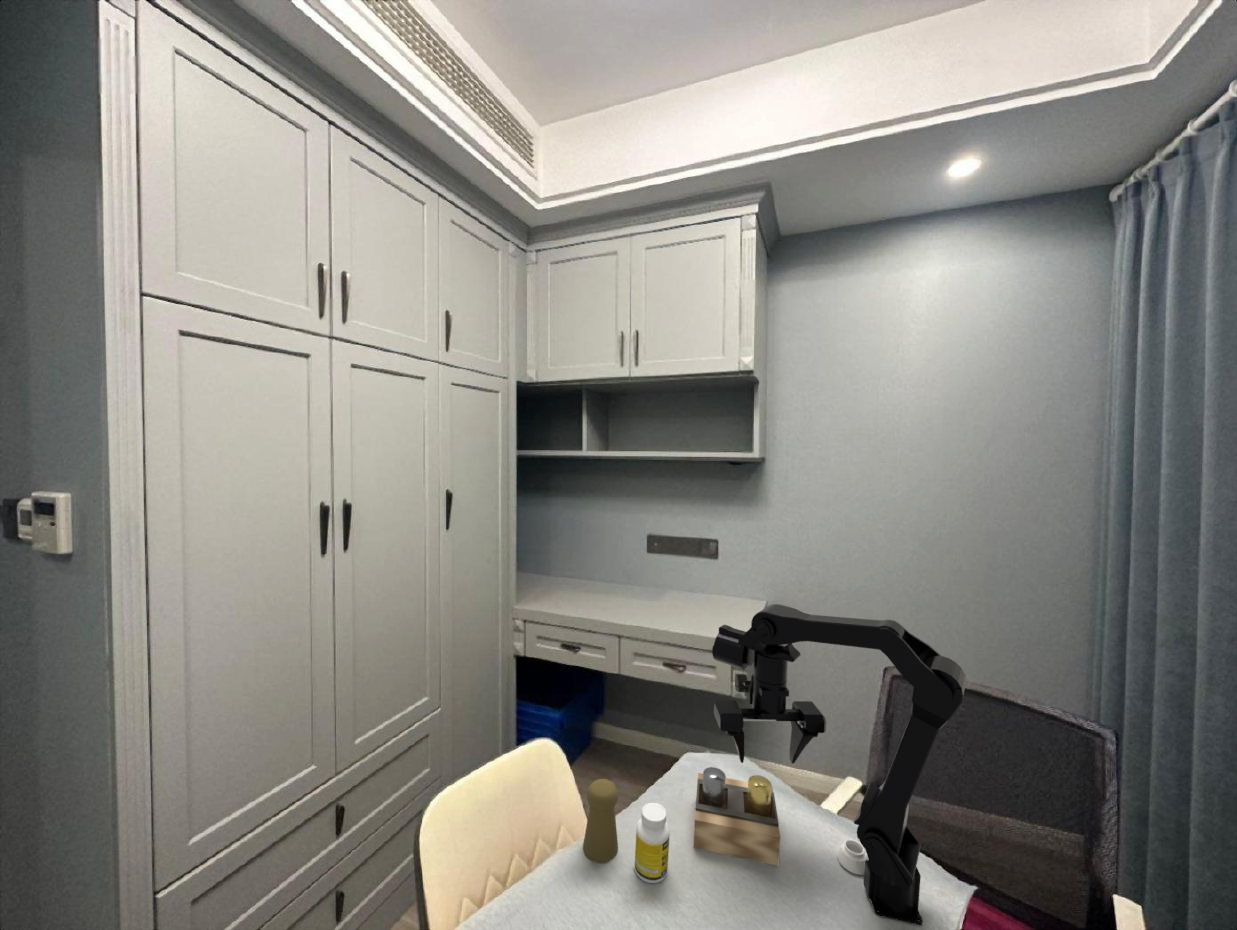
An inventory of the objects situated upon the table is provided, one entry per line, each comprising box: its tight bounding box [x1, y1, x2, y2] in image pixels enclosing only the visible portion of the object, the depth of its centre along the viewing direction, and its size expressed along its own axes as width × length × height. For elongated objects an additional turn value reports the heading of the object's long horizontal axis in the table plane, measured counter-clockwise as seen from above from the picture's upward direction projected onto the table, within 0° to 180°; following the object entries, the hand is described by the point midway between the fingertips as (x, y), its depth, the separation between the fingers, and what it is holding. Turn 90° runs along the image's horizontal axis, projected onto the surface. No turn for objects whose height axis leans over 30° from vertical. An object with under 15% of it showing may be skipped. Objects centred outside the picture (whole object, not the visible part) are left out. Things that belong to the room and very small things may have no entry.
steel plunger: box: [702, 766, 727, 808], centre depth 87 cm, size 4×4×5 cm
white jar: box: [836, 838, 869, 876], centre depth 80 cm, size 5×3×5 cm
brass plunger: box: [747, 774, 773, 817], centre depth 85 cm, size 4×4×5 cm
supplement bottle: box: [634, 802, 671, 884], centre depth 77 cm, size 5×5×10 cm
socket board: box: [693, 772, 781, 867], centre depth 86 cm, size 14×12×5 cm
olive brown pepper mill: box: [582, 778, 619, 864], centre depth 81 cm, size 6×6×11 cm
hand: (766, 761), depth 86 cm, fingers open, 9 cm apart
